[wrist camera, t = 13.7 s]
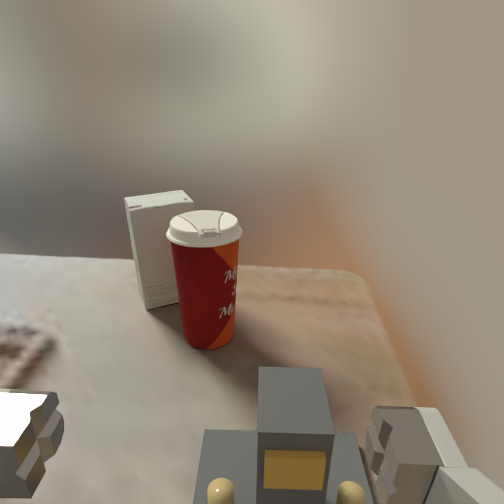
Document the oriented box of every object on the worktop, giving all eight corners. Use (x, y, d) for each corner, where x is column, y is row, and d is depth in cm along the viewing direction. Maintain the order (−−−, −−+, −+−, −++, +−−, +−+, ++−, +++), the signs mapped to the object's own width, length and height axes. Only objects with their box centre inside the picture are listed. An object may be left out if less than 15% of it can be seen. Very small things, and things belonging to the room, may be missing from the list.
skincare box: (190, 281, 60) (185, 188, 53) (202, 300, 54) (197, 199, 48) (135, 292, 56) (123, 194, 50) (142, 312, 51) (129, 207, 45)
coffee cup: (249, 350, 44) (251, 230, 38) (178, 361, 42) (167, 237, 36) (233, 311, 52) (232, 205, 46) (172, 320, 50) (162, 210, 44)
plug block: (254, 564, 24) (257, 440, 19) (255, 480, 29) (258, 366, 24) (318, 566, 24) (336, 442, 19) (308, 482, 29) (321, 368, 24)
